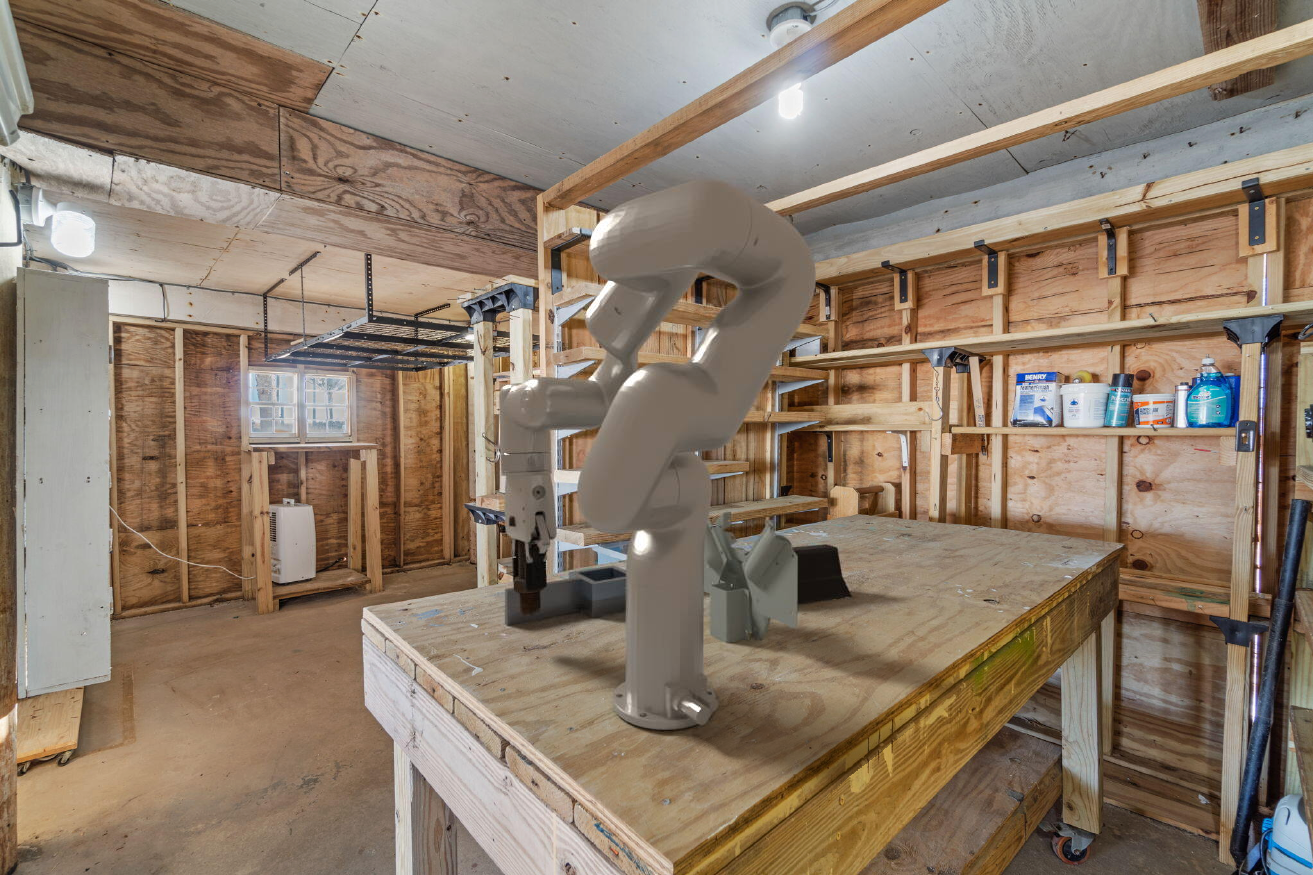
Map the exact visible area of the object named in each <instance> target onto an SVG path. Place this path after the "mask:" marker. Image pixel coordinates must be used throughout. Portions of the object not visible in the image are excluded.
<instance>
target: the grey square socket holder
mask: <svg viewBox="0 0 1313 875" xmlns="http://www.w3.org/2000/svg"><path fill="white" fill-rule="evenodd" d="M519 595H520V594H519V593H518V592H516V591H515V590H514V587H510V588H508V587H507V588H504V624H505V625H506V626H511V625H512V626H513V625H516V624H522V623H529V622H532V621H537V620H538V621H539V620H541V619H547V618H552V617H558V616H563V615H568V614H569V615H570V614H573V613H578V612H582V613H584V614H585V615H587V616H589V617H591V618H592V619H593V618H597V617H598V618H599V617H602V616H607V615H612V614H616V613H622V612H626V569H623V568H621V567H619V566H617V565H614V564H613V565H608V566H600V567H594V568H590V569H589V568H588V569H581V570H576V571H568V578H565V579H560V580H554V581H552V580H551V581H547V586H546V587H545V588H544V589H543V590H542V591H540V597H541V598H540V599H541V600H540V601H541V608H540V611H539V612H538V613H536V614H534V615H530V614H527V615H523V614H522V613H521V612H520V607H519V606H520V605H519V604H520V603H519V602H520V601H519V600H520V599H519V598H520V596H519Z"/></svg>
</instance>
